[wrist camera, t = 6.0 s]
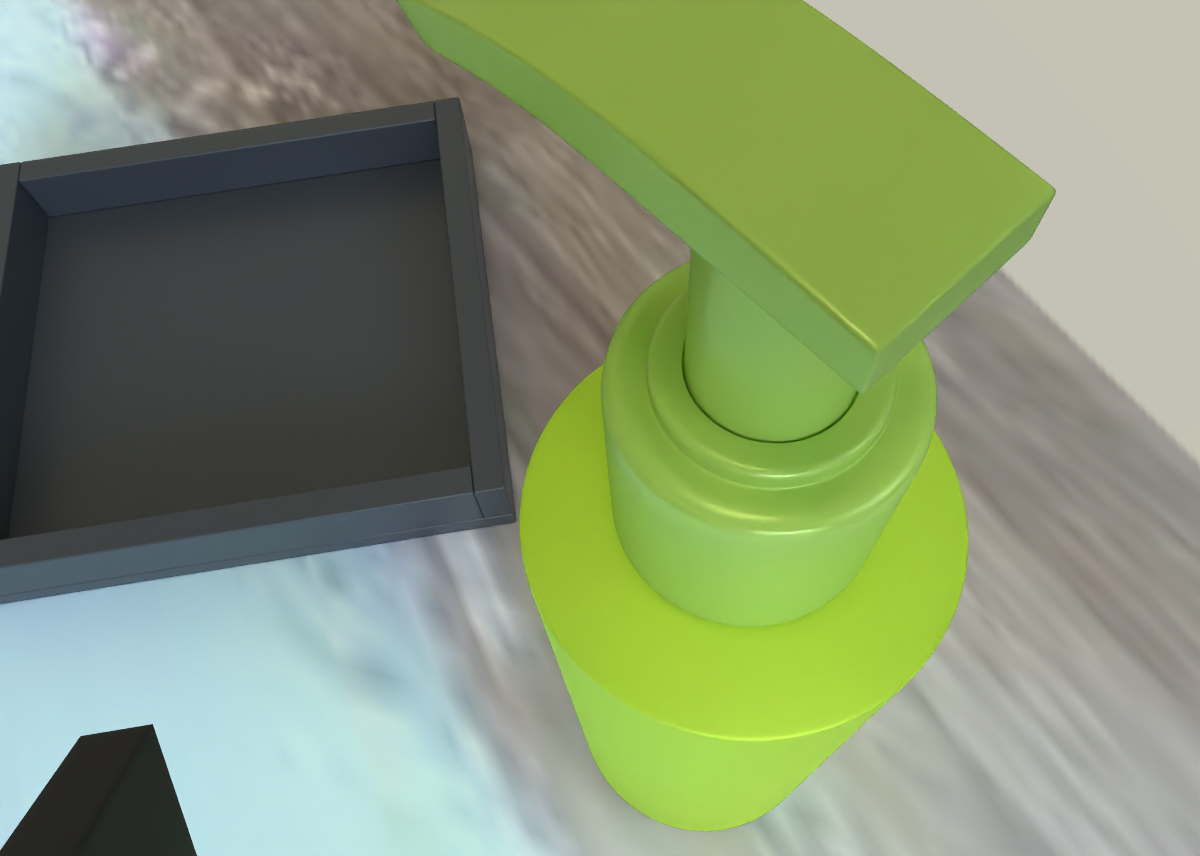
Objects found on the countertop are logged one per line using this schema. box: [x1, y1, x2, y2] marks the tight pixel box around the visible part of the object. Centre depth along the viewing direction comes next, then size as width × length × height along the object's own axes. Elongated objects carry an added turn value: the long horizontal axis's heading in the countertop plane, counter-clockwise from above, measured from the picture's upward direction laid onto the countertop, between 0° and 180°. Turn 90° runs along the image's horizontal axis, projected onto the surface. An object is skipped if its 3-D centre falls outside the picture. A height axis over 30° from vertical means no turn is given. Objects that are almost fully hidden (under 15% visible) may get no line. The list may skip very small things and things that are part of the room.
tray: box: [0, 97, 516, 604], centre depth 29 cm, size 15×14×2 cm
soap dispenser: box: [397, 0, 1056, 831], centre depth 16 cm, size 6×7×20 cm
